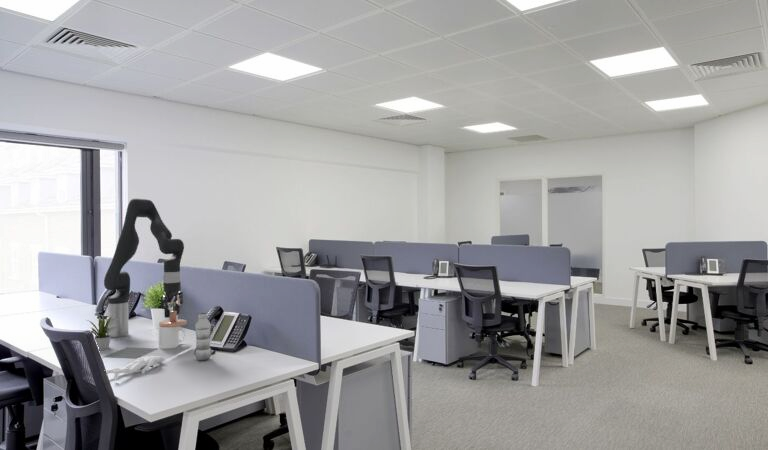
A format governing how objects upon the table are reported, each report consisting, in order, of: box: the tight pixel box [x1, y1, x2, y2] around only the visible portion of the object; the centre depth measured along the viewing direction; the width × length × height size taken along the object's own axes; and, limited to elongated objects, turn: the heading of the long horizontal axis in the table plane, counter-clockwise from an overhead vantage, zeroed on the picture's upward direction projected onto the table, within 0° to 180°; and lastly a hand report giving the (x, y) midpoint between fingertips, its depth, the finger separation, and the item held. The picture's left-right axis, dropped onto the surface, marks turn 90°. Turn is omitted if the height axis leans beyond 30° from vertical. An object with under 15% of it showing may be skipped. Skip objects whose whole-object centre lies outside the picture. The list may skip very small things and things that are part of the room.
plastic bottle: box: [194, 312, 212, 361], centre depth 205 cm, size 6×7×20 cm
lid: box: [158, 310, 188, 327], centre depth 226 cm, size 12×12×6 cm
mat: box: [103, 346, 159, 360], centre depth 213 cm, size 16×16×1 cm
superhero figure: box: [106, 355, 165, 382], centre depth 189 cm, size 12×6×25 cm
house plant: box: [86, 315, 118, 351], centre depth 221 cm, size 14×14×16 cm
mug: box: [158, 325, 186, 350], centre depth 226 cm, size 9×12×11 cm
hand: (172, 315), depth 225 cm, fingers open, 7 cm apart
